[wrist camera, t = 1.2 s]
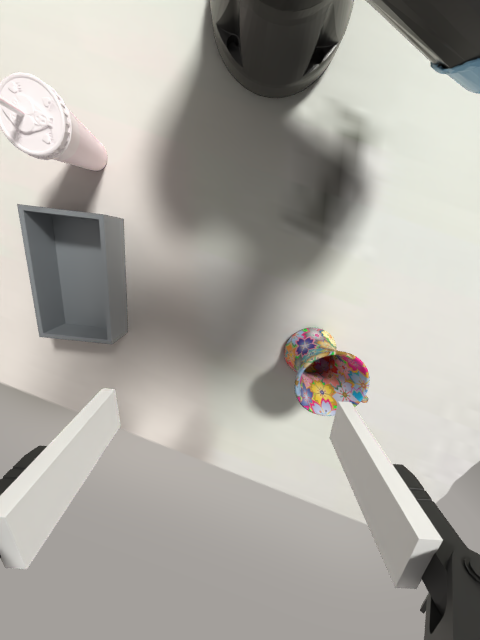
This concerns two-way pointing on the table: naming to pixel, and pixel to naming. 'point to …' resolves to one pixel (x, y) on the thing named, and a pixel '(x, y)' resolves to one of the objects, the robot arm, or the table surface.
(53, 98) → the smoothie
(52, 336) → the tray
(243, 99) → the table surface
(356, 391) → the mug
